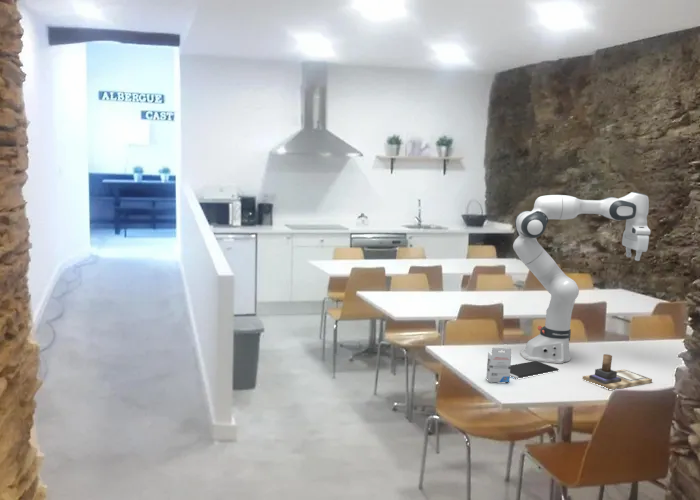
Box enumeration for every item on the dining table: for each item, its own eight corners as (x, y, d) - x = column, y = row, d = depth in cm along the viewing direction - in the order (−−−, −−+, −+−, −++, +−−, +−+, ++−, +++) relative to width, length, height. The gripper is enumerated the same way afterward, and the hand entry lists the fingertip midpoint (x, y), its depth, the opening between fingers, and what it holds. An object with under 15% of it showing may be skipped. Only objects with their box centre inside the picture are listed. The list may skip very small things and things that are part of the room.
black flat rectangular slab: (559, 372, 303) (560, 368, 303) (517, 381, 288) (517, 377, 288) (536, 363, 314) (536, 360, 314) (493, 371, 299) (493, 367, 299)
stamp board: (609, 390, 280) (610, 383, 280) (582, 379, 293) (583, 372, 292) (651, 382, 293) (652, 375, 293) (624, 372, 305) (624, 365, 305)
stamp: (606, 379, 285) (608, 358, 283) (594, 375, 290) (596, 354, 289) (616, 377, 288) (618, 356, 286) (604, 373, 293) (606, 352, 292)
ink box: (505, 379, 288) (508, 344, 286) (509, 383, 283) (512, 348, 281) (485, 378, 287) (488, 344, 285) (489, 382, 282) (492, 347, 280)
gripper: (620, 225, 322) (617, 254, 324) (638, 230, 302) (634, 262, 304) (633, 225, 322) (630, 255, 324) (652, 231, 302) (649, 262, 304)
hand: (632, 258), depth 314 cm, fingers open, 8 cm apart
